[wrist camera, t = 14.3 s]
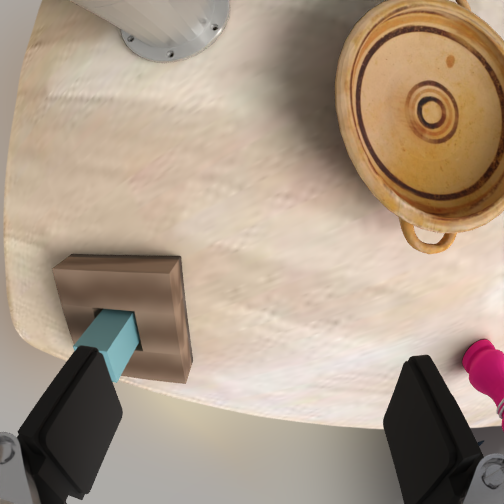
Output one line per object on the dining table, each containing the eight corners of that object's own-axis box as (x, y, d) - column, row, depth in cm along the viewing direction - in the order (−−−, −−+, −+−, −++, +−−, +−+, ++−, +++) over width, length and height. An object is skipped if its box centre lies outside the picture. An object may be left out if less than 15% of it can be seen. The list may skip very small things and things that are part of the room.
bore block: (71, 254, 39) (52, 268, 35) (180, 256, 38) (169, 273, 34) (96, 349, 45) (82, 368, 40) (193, 360, 44) (185, 383, 40)
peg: (111, 298, 40) (73, 346, 30) (141, 300, 40) (106, 351, 30) (118, 325, 42) (84, 376, 31) (146, 328, 41) (117, 382, 31)
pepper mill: (452, 362, 43) (504, 452, 24) (482, 329, 40) (546, 413, 22) (470, 375, 44) (518, 457, 25) (498, 346, 42) (555, 422, 23)
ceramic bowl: (478, 243, 36) (512, 266, 28) (308, 224, 36) (318, 249, 29) (497, 34, 25) (532, 24, 17) (325, -21, 26) (337, -53, 18)
